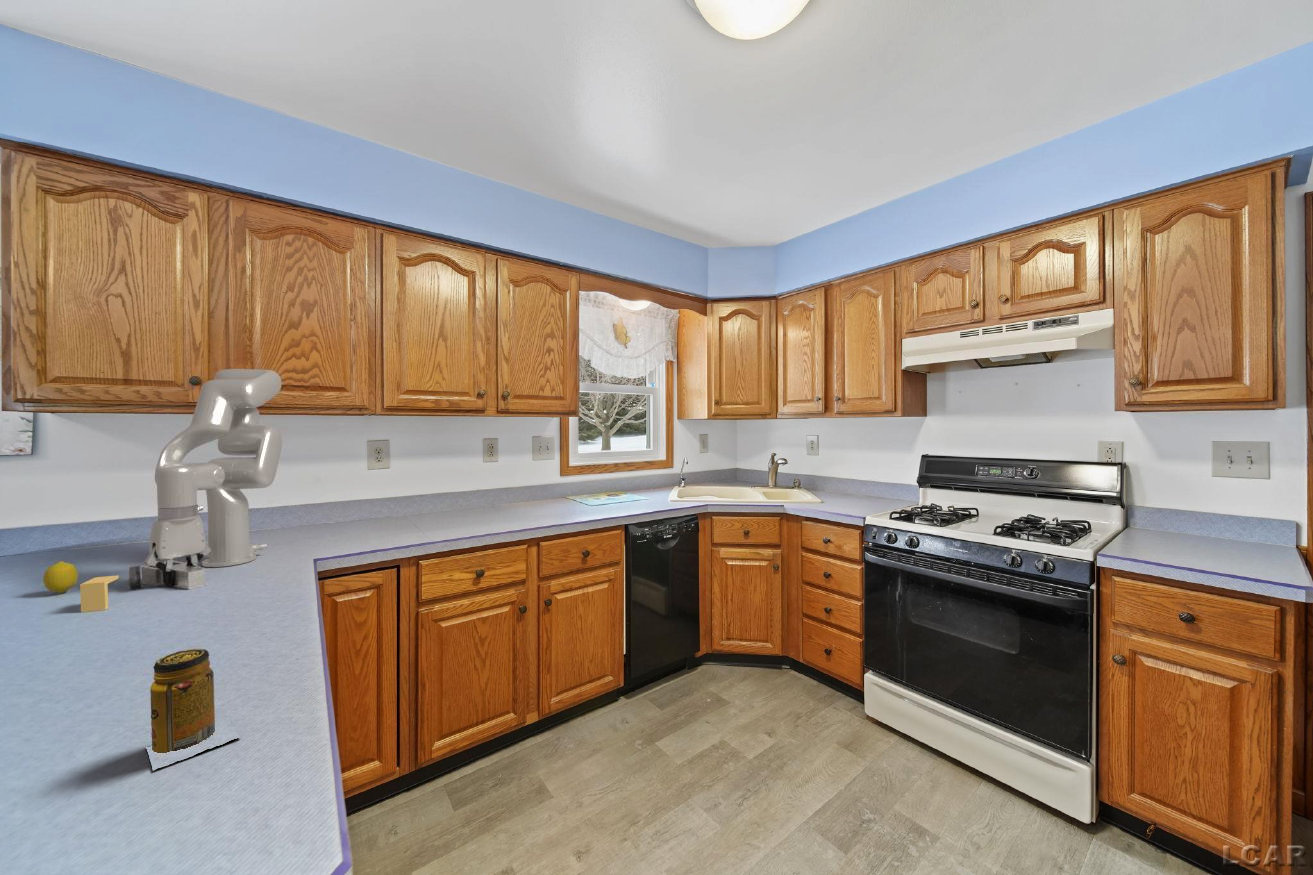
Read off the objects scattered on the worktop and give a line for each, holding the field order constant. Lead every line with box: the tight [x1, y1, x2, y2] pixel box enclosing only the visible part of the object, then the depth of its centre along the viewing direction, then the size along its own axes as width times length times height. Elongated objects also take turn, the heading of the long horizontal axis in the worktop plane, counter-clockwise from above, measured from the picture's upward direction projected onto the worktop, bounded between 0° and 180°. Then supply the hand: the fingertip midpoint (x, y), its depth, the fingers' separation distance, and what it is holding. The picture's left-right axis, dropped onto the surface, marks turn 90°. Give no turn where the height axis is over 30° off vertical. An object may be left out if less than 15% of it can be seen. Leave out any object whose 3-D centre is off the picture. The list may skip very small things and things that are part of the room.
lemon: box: [43, 561, 79, 595], centre depth 126 cm, size 6×6×8 cm
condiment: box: [149, 648, 216, 753], centre depth 67 cm, size 7×8×12 cm
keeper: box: [79, 575, 119, 613], centre depth 117 cm, size 6×4×6 cm
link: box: [141, 560, 206, 590], centre depth 134 cm, size 18×7×4 cm, turn 68°
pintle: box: [128, 565, 142, 590], centre depth 130 cm, size 2×2×6 cm
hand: (179, 582), depth 133 cm, fingers closed on link, 3 cm apart
